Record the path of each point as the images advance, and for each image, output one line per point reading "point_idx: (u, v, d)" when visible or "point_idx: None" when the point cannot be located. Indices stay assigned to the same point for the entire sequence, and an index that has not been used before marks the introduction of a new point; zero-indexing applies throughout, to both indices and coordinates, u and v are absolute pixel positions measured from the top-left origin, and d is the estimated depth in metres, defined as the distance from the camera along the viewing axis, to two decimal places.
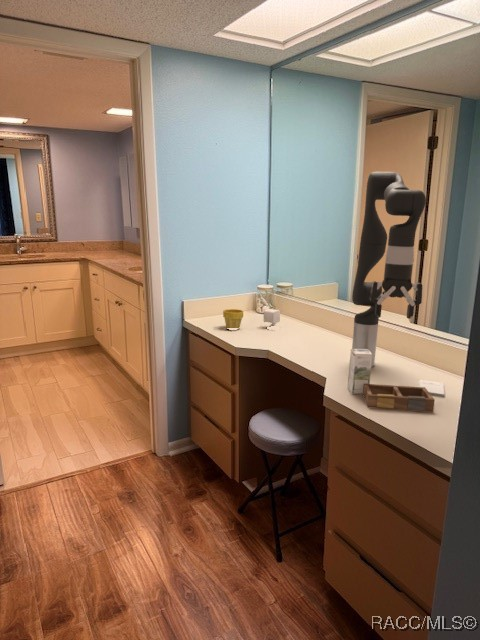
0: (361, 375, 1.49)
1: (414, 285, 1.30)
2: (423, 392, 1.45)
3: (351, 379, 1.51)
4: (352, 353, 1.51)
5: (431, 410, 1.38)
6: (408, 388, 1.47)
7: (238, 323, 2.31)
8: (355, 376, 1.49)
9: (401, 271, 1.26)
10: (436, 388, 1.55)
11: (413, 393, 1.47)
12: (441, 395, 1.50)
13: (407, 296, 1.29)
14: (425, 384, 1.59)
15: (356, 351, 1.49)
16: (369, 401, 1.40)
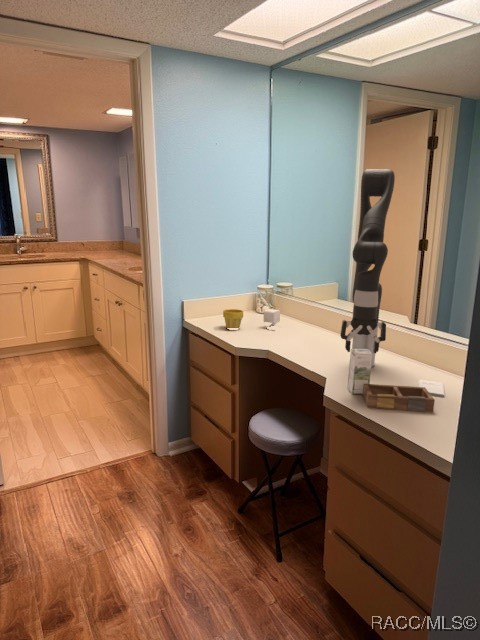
0: (361, 375, 1.49)
1: (379, 324, 1.47)
2: (423, 392, 1.45)
3: (351, 379, 1.51)
4: (352, 353, 1.51)
5: (431, 410, 1.38)
6: (408, 388, 1.47)
7: (238, 323, 2.31)
8: (355, 376, 1.49)
9: (366, 312, 1.44)
10: (436, 388, 1.55)
11: (413, 393, 1.47)
12: (441, 395, 1.50)
13: (373, 334, 1.47)
14: (424, 385, 1.59)
15: (356, 351, 1.49)
16: (369, 401, 1.40)
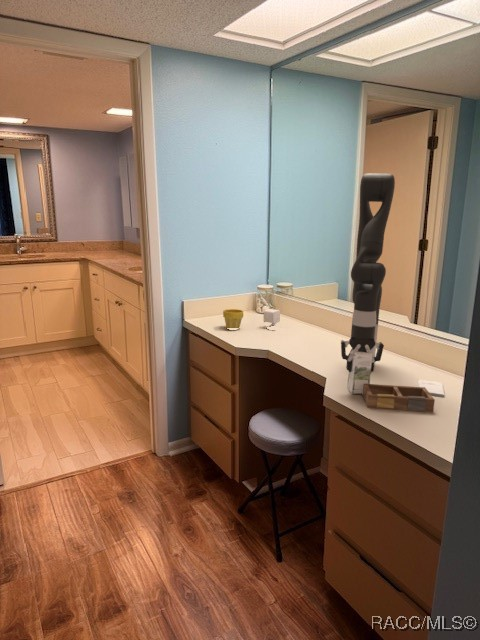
0: (361, 375, 1.49)
1: (377, 344, 1.49)
2: (423, 392, 1.45)
3: (351, 379, 1.51)
4: None
5: (431, 410, 1.38)
6: (408, 388, 1.47)
7: (238, 323, 2.31)
8: (355, 376, 1.49)
9: (364, 332, 1.45)
10: (435, 388, 1.55)
11: (413, 393, 1.47)
12: (441, 395, 1.50)
13: None
14: (424, 385, 1.59)
15: None
16: (369, 401, 1.40)
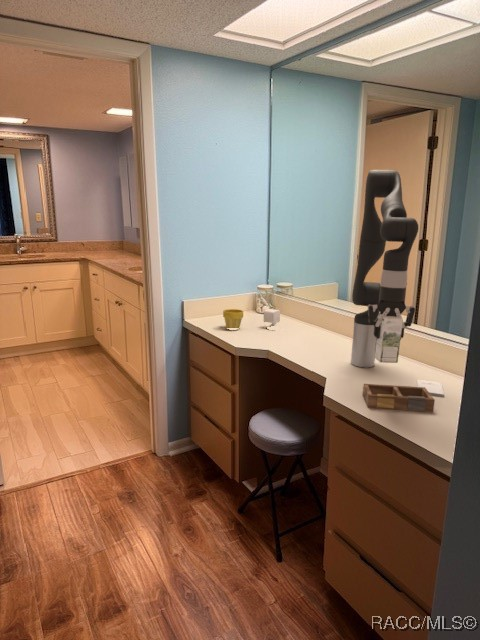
0: (390, 342, 1.38)
1: (407, 308, 1.37)
2: (423, 392, 1.45)
3: (379, 347, 1.39)
4: None
5: (431, 410, 1.38)
6: (408, 388, 1.47)
7: (238, 323, 2.31)
8: (384, 343, 1.38)
9: (395, 294, 1.33)
10: (435, 388, 1.55)
11: (413, 393, 1.47)
12: (441, 395, 1.51)
13: None
14: (423, 385, 1.59)
15: None
16: (369, 401, 1.40)
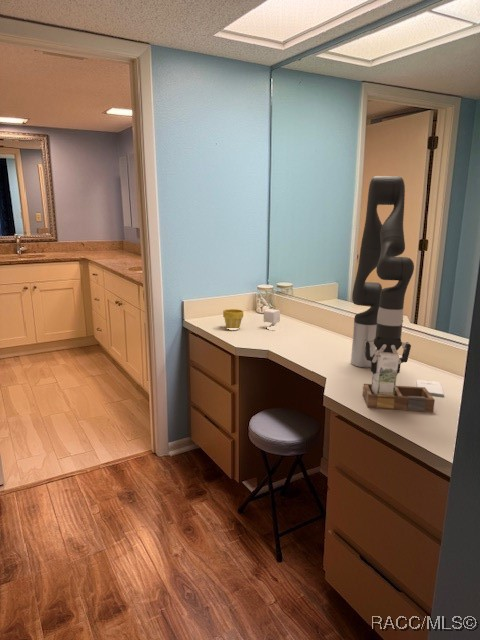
0: (387, 378, 1.40)
1: (403, 344, 1.40)
2: (423, 392, 1.45)
3: (376, 382, 1.42)
4: None
5: (431, 410, 1.38)
6: (408, 388, 1.47)
7: (238, 323, 2.31)
8: (380, 378, 1.40)
9: (391, 331, 1.36)
10: (434, 388, 1.55)
11: (413, 393, 1.47)
12: (441, 395, 1.51)
13: None
14: (423, 385, 1.59)
15: None
16: (369, 401, 1.40)
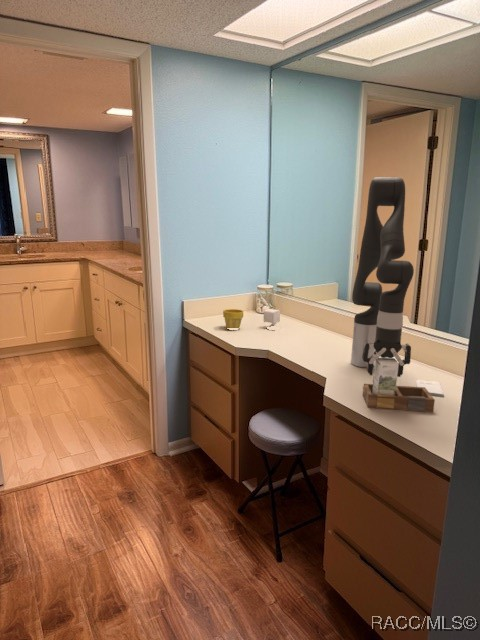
0: (386, 385, 1.41)
1: (403, 346, 1.40)
2: (423, 392, 1.45)
3: (376, 389, 1.43)
4: (377, 361, 1.42)
5: (431, 410, 1.38)
6: (408, 388, 1.47)
7: (238, 323, 2.31)
8: (380, 386, 1.41)
9: (390, 335, 1.36)
10: (434, 388, 1.55)
11: (413, 393, 1.47)
12: (440, 395, 1.51)
13: (397, 357, 1.39)
14: (422, 384, 1.59)
15: (381, 359, 1.41)
16: (369, 401, 1.40)
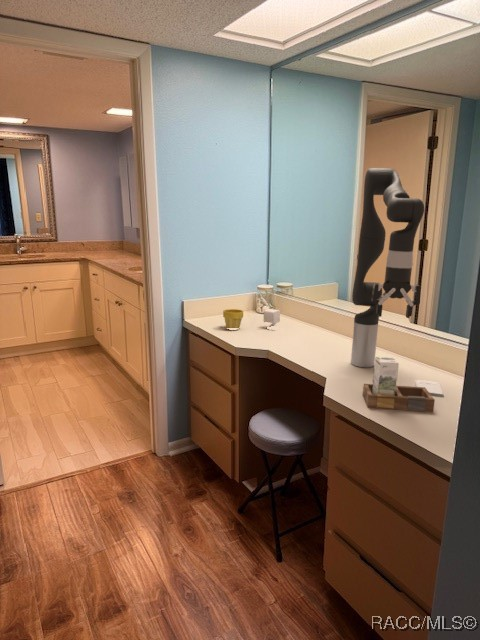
0: (386, 385, 1.41)
1: (413, 287, 1.39)
2: (423, 392, 1.45)
3: (376, 389, 1.43)
4: (377, 361, 1.42)
5: (431, 410, 1.38)
6: (408, 388, 1.47)
7: (238, 323, 2.31)
8: (380, 386, 1.41)
9: (400, 274, 1.36)
10: (434, 388, 1.55)
11: (413, 393, 1.47)
12: (440, 395, 1.51)
13: (406, 297, 1.39)
14: (422, 384, 1.59)
15: (381, 359, 1.41)
16: (369, 401, 1.40)
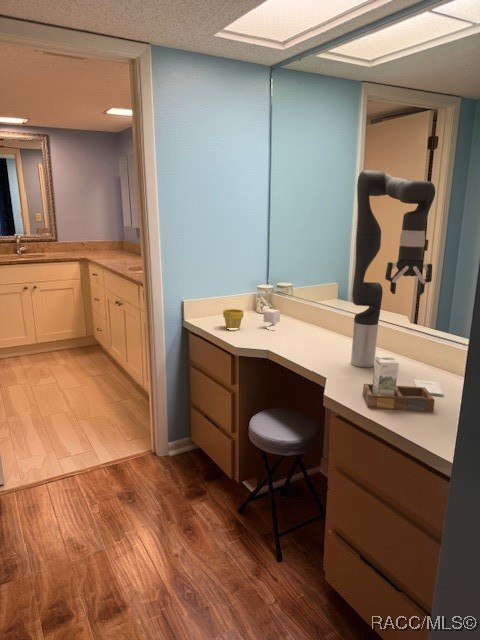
0: (386, 385, 1.41)
1: (425, 265, 1.47)
2: (423, 392, 1.45)
3: (376, 389, 1.43)
4: (377, 361, 1.42)
5: (431, 410, 1.38)
6: (408, 388, 1.47)
7: (238, 323, 2.31)
8: (380, 386, 1.41)
9: (413, 252, 1.44)
10: (433, 388, 1.55)
11: (413, 393, 1.47)
12: (440, 395, 1.51)
13: (419, 275, 1.47)
14: (421, 384, 1.59)
15: (381, 359, 1.41)
16: (369, 401, 1.40)
